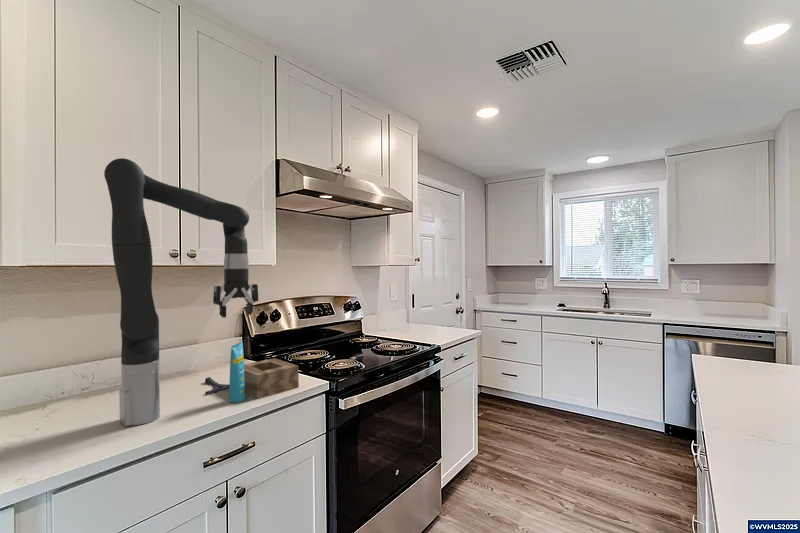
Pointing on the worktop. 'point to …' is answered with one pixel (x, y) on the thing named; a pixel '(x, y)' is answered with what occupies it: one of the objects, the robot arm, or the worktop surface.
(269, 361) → the socket block
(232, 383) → the tube
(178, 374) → the worktop surface
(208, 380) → the bracket
